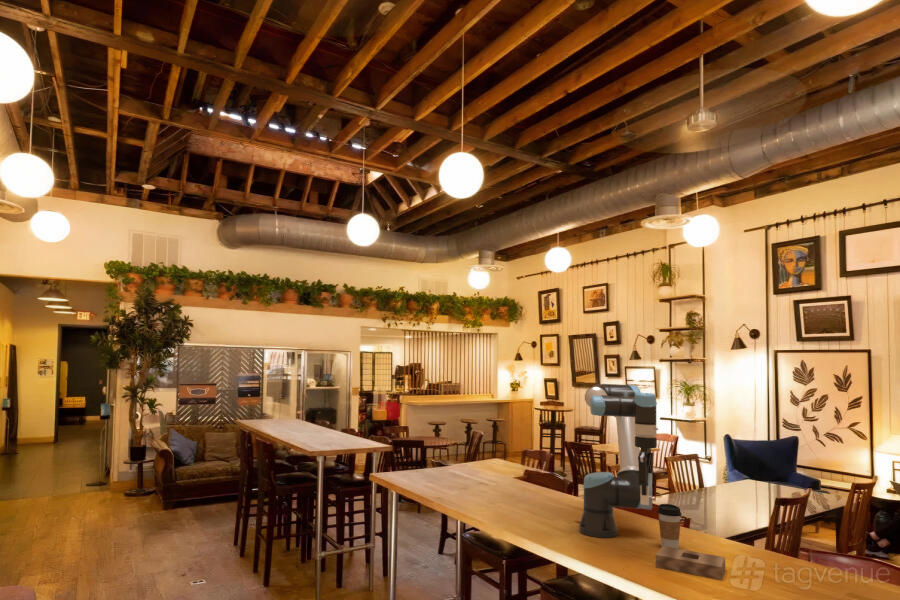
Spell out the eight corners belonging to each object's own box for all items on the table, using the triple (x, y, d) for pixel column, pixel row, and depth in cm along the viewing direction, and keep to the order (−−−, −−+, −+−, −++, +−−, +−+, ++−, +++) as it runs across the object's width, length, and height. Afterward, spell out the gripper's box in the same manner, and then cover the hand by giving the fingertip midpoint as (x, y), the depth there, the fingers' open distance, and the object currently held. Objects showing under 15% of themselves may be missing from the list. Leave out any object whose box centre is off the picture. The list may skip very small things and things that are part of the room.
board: (655, 567, 189) (655, 554, 189) (662, 557, 199) (662, 545, 199) (721, 580, 179) (721, 567, 179) (725, 569, 189) (725, 557, 189)
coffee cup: (676, 544, 215) (675, 503, 217) (686, 551, 207) (685, 509, 209) (654, 543, 215) (654, 503, 217) (663, 551, 207) (663, 508, 208)
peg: (639, 508, 199) (638, 473, 201) (641, 506, 203) (641, 471, 204) (651, 510, 197) (650, 474, 199) (653, 507, 201) (653, 473, 202)
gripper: (651, 439, 194) (652, 509, 191) (661, 435, 208) (662, 500, 205) (629, 437, 198) (629, 506, 195) (640, 433, 212) (641, 497, 209)
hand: (646, 503), depth 200 cm, fingers closed on peg, 4 cm apart
